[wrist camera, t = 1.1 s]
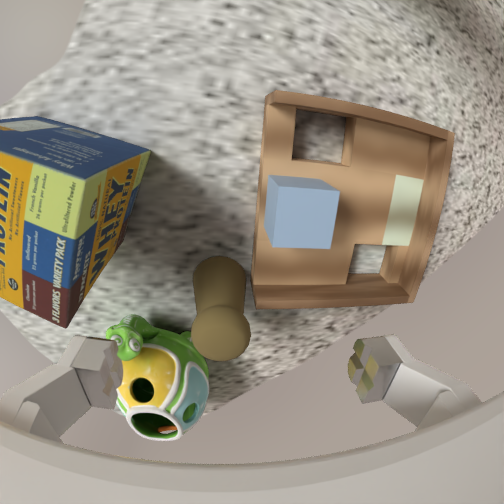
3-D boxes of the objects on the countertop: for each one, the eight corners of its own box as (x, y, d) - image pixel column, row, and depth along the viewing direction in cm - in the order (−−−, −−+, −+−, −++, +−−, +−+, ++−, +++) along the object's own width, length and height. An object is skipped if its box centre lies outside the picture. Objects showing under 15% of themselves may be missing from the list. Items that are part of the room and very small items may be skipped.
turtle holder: (184, 278, 33) (171, 352, 22) (218, 381, 41) (221, 450, 30) (91, 294, 32) (55, 360, 22) (142, 388, 40) (131, 452, 30)
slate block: (268, 174, 26) (278, 186, 22) (320, 178, 27) (340, 191, 22) (263, 226, 28) (272, 247, 24) (313, 228, 29) (330, 249, 25)
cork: (200, 249, 31) (193, 310, 22) (253, 264, 33) (268, 327, 23) (187, 295, 34) (178, 363, 24) (236, 307, 35) (244, 376, 25)
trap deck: (265, 96, 25) (275, 90, 20) (424, 128, 28) (454, 133, 23) (250, 280, 34) (255, 309, 29) (392, 279, 36) (413, 302, 31)
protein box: (125, 241, 30) (68, 332, 16) (18, 200, 26) (-68, 256, 12) (154, 149, 27) (89, 179, 13) (35, 113, 23) (-67, 128, 9)
